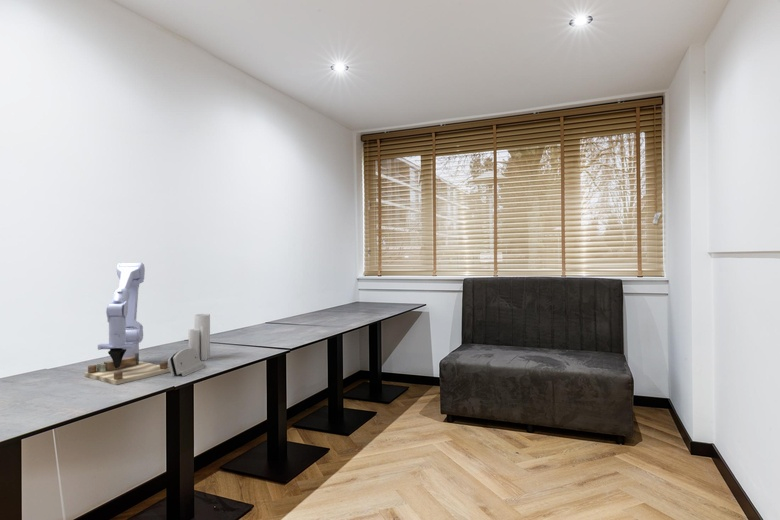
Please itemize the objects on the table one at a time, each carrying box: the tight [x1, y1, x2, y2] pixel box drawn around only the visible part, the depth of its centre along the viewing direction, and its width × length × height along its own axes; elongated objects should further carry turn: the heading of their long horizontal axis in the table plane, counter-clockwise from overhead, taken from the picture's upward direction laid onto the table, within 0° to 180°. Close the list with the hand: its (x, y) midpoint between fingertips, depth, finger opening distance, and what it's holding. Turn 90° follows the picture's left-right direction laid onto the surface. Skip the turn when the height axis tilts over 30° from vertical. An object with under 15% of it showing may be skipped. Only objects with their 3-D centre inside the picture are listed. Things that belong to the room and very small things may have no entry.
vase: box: [188, 313, 211, 361], centre depth 205 cm, size 11×7×20 cm, turn 178°
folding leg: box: [103, 357, 136, 371], centre depth 183 cm, size 12×3×3 cm, turn 154°
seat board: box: [84, 352, 171, 386], centre depth 180 cm, size 22×22×6 cm
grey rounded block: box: [167, 348, 206, 378], centre depth 185 cm, size 17×5×10 cm, turn 173°
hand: (117, 367), depth 179 cm, fingers closed
